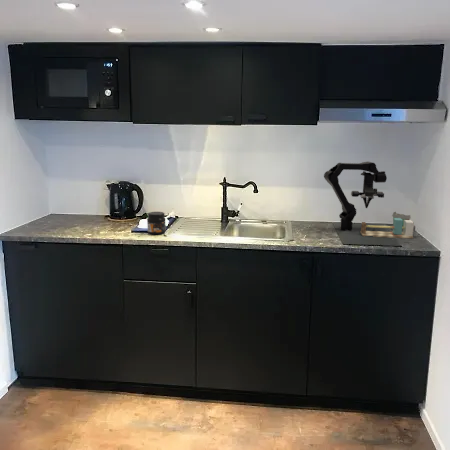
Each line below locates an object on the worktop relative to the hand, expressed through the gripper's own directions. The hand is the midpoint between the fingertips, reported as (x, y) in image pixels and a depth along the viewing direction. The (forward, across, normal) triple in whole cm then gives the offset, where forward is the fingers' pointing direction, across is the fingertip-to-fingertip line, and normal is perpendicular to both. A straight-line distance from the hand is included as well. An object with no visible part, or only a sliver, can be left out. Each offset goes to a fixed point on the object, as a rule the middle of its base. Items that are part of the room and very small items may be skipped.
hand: (366, 208), depth 290 cm
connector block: (+12, +23, -15) cm, 30 cm away
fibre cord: (+9, +9, -15) cm, 19 cm away
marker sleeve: (+12, +16, -15) cm, 25 cm away
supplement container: (+13, -123, -34) cm, 128 cm away
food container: (+13, +20, +1) cm, 24 cm away
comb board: (+13, +10, -15) cm, 22 cm away
